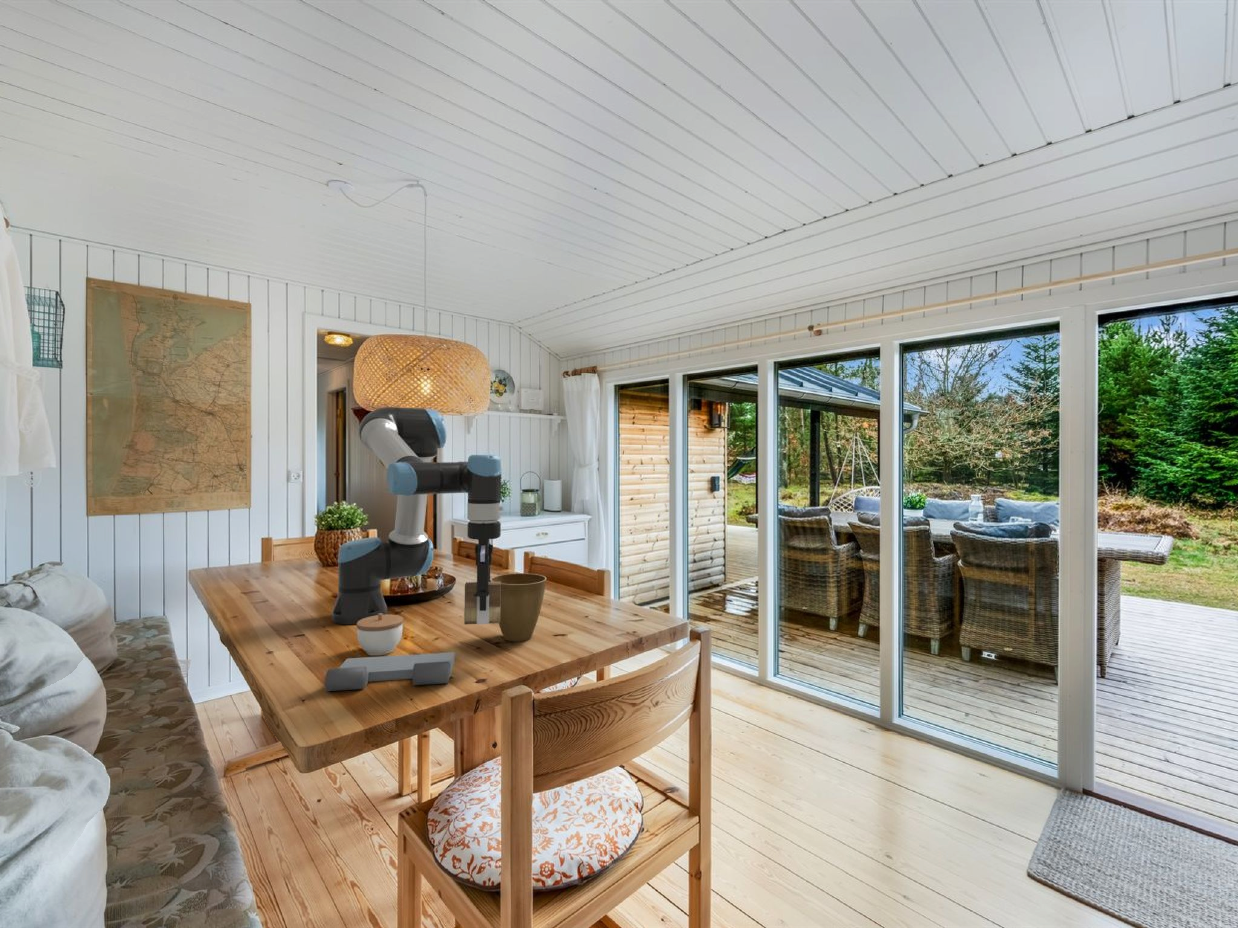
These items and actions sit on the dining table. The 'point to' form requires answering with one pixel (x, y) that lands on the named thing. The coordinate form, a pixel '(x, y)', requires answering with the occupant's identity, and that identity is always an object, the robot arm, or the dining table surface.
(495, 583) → the taupe rectangular chunk
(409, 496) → the robot arm
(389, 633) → the lidded jar
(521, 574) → the plant pot
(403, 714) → the dining table surface
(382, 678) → the grey hinge leaf
